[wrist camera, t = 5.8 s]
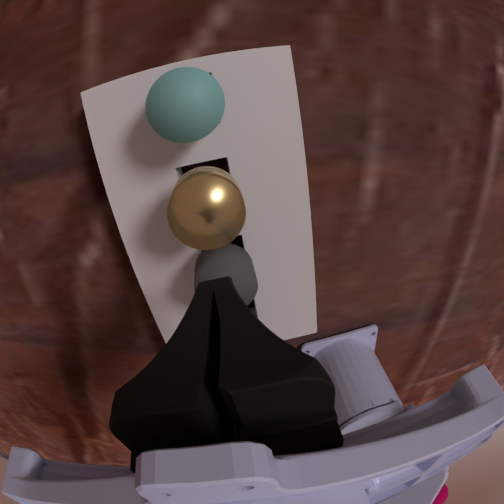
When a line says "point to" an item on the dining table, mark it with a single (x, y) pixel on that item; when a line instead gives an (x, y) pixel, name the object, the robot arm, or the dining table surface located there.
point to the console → (240, 168)
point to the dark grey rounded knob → (228, 269)
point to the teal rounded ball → (185, 104)
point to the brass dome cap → (206, 208)
